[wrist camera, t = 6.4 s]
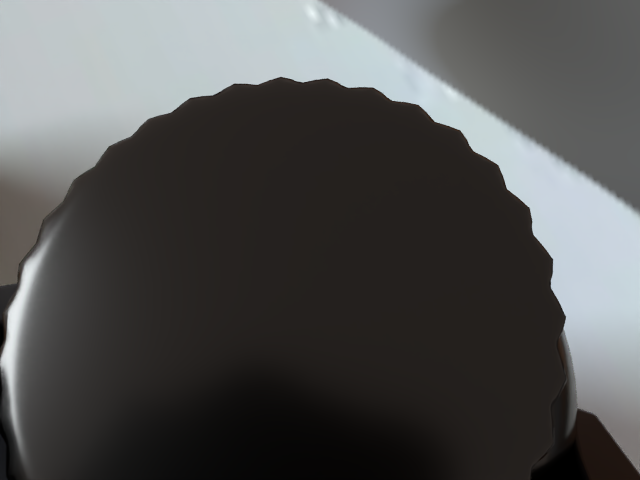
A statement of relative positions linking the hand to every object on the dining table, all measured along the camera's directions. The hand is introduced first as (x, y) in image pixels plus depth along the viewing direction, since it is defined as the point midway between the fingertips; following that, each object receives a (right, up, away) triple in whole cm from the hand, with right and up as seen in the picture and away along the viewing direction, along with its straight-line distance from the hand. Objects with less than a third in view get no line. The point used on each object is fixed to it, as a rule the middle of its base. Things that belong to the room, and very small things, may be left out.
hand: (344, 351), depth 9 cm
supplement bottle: (+1, -3, +7) cm, 7 cm away
